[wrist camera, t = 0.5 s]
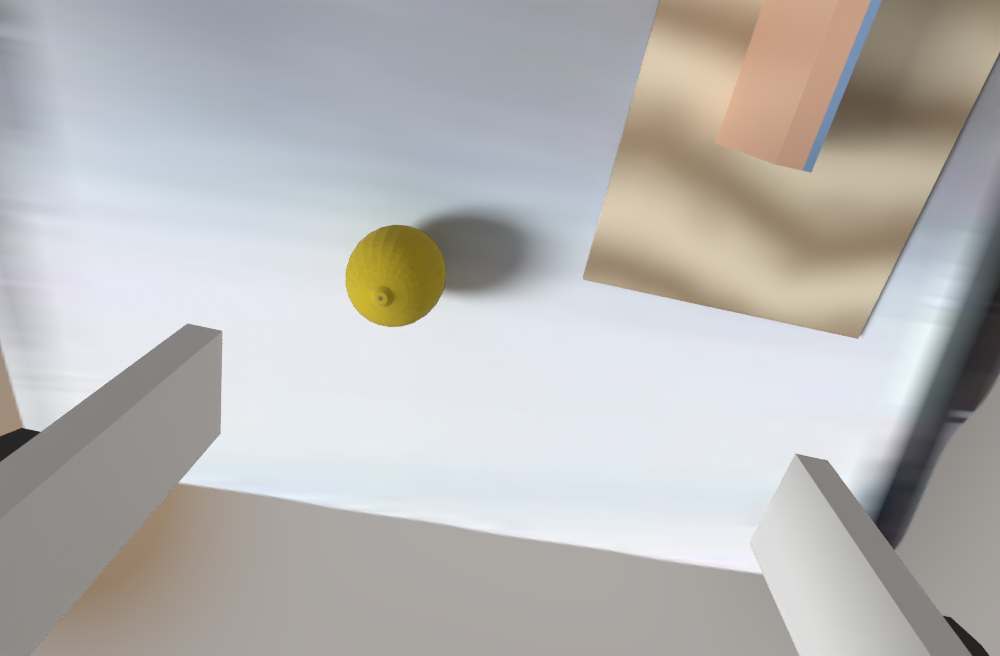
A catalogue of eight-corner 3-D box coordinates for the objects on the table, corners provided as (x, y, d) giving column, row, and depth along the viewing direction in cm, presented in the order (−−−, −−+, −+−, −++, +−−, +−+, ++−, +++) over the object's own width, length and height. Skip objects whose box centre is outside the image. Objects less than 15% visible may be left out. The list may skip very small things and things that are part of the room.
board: (744, -304, 26) (747, -309, 26) (1122, -209, 27) (1130, -213, 27) (582, 277, 37) (583, 279, 37) (854, 336, 38) (857, 338, 38)
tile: (776, -38, 30) (869, -81, 22) (807, -31, 30) (911, -72, 22) (715, 143, 34) (775, 164, 25) (742, 149, 34) (811, 172, 25)
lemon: (462, 225, 37) (444, 262, 29) (443, 305, 39) (422, 359, 31) (374, 202, 36) (334, 234, 29) (361, 285, 38) (320, 334, 31)
